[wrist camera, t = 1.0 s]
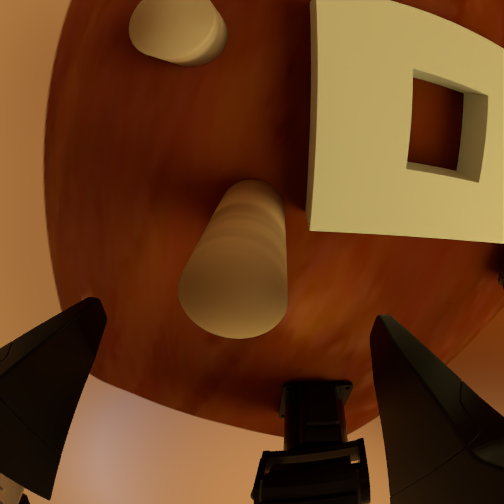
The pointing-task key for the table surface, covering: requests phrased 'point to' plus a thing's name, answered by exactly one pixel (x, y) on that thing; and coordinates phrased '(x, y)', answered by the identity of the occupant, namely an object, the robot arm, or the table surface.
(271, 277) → the long pin
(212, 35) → the short pin
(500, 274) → the bolt
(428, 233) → the board
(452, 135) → the table surface
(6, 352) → the robot arm
